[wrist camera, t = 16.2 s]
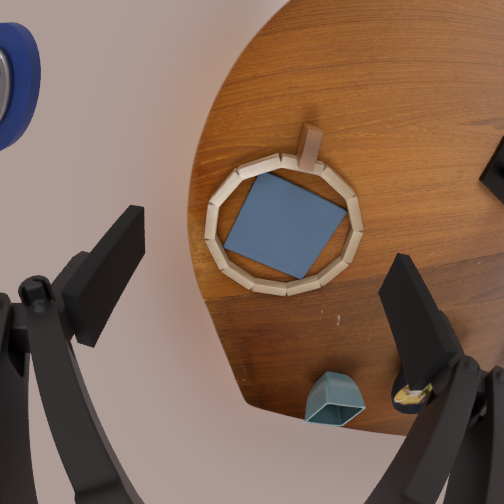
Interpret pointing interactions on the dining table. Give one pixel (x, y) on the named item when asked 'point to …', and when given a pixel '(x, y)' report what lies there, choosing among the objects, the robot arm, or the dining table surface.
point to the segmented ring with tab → (300, 162)
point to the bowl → (407, 395)
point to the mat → (283, 225)
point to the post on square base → (495, 173)
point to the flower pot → (333, 400)
